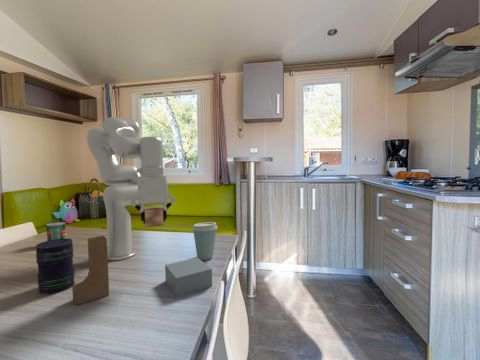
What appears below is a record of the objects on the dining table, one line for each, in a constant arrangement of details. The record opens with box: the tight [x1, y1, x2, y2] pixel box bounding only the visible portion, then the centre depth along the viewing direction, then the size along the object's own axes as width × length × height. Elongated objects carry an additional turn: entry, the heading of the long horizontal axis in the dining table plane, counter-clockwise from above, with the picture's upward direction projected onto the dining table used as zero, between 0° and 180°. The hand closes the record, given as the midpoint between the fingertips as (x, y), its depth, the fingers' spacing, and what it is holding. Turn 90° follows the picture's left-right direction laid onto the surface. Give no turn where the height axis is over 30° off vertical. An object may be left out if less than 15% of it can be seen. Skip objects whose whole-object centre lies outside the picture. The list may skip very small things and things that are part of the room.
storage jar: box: [35, 238, 76, 295], centre depth 82 cm, size 10×10×15 cm
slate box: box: [164, 257, 213, 297], centre depth 84 cm, size 12×12×6 cm
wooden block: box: [71, 235, 110, 306], centre depth 75 cm, size 9×4×18 cm, turn 130°
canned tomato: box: [45, 221, 67, 241], centre depth 127 cm, size 8×8×11 cm
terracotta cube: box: [144, 206, 164, 228], centre depth 89 cm, size 6×6×6 cm
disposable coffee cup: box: [192, 221, 218, 261], centre depth 107 cm, size 11×11×15 cm
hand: (154, 221), depth 89 cm, fingers closed on terracotta cube, 6 cm apart
